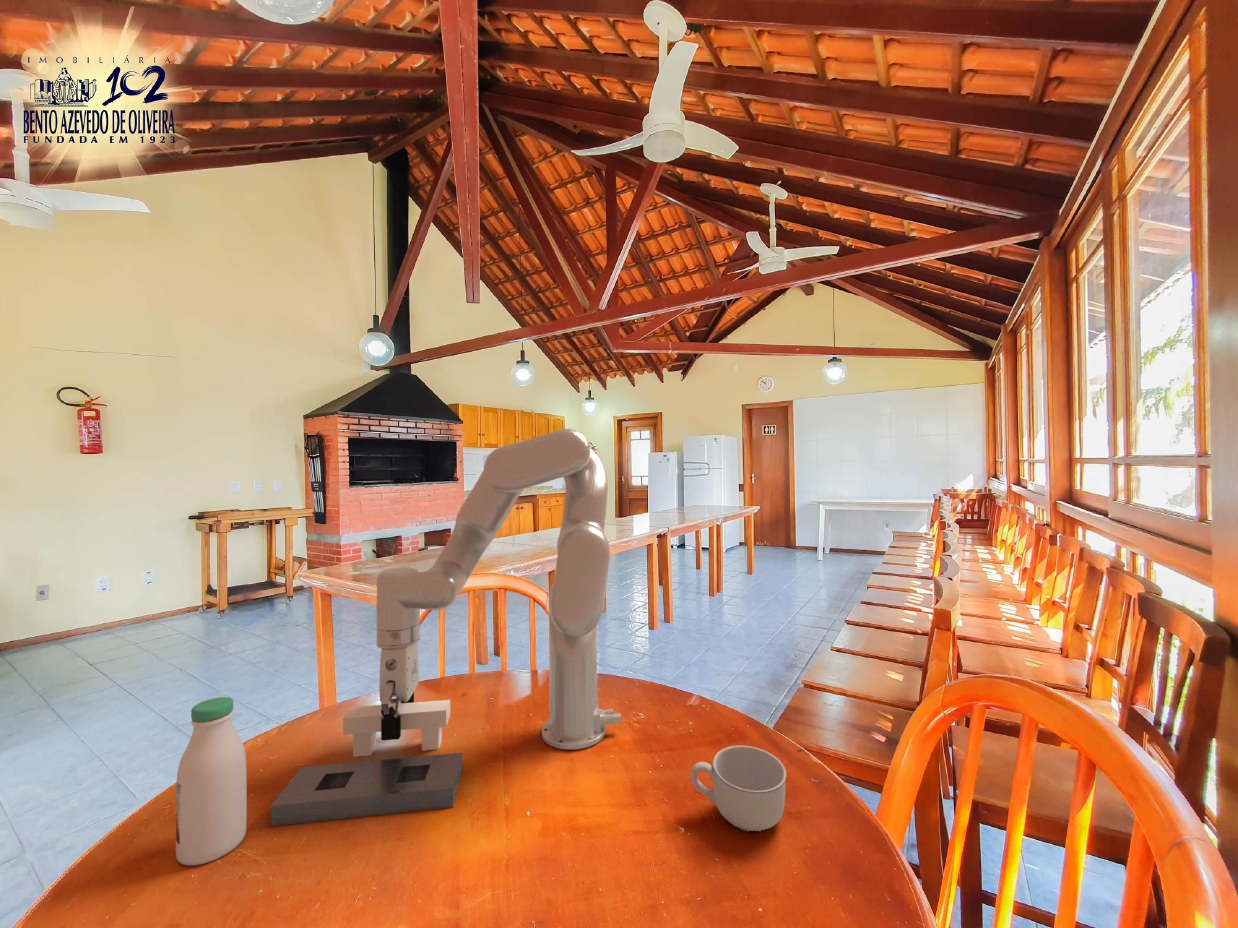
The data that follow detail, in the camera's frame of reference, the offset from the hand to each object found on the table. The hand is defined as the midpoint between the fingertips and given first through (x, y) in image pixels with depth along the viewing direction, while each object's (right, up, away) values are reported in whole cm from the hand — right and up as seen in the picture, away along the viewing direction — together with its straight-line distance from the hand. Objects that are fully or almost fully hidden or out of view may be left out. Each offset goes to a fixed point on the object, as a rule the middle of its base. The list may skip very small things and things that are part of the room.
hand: (398, 725), depth 96 cm
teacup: (+60, -4, -19) cm, 63 cm away
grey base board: (+2, -4, -14) cm, 15 cm away
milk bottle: (-15, -4, -25) cm, 29 cm away
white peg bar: (0, -4, 0) cm, 4 cm away
